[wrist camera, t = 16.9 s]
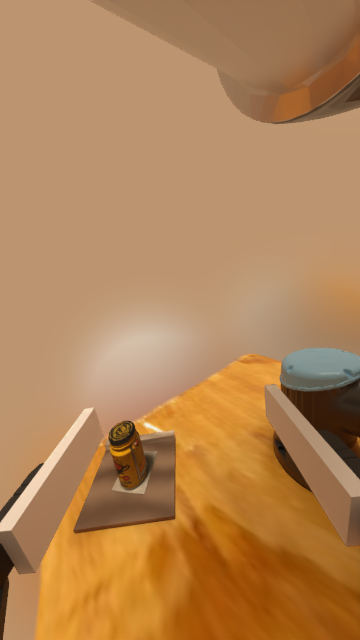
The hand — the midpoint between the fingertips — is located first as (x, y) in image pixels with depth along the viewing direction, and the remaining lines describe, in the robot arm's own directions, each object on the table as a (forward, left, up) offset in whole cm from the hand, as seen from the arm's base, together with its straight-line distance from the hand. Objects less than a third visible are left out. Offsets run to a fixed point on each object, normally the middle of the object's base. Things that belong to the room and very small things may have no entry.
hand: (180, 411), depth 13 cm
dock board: (-1, -23, -31) cm, 38 cm away
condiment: (-2, -23, -30) cm, 38 cm away
